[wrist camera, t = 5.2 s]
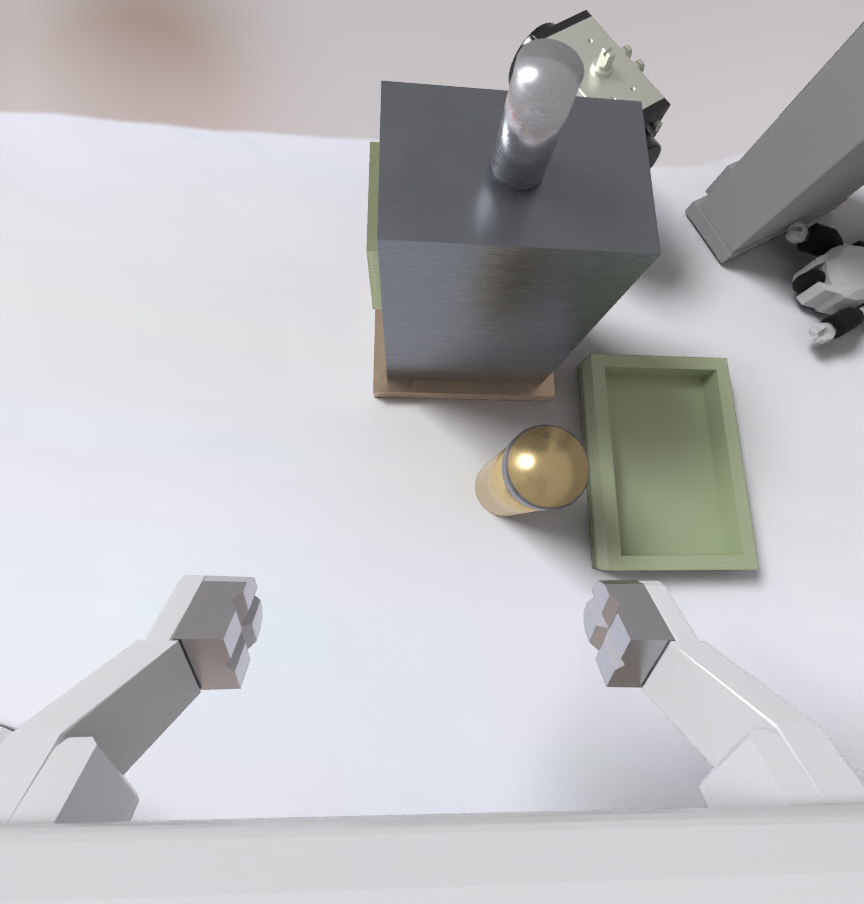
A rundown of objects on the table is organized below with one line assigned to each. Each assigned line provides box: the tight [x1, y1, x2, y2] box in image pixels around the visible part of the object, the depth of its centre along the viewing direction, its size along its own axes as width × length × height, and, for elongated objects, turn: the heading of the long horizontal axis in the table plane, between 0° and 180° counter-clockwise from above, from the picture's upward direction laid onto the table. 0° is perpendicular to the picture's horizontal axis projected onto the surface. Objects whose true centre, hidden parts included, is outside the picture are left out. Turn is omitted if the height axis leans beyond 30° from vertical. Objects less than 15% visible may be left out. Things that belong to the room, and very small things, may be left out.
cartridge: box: [475, 425, 590, 517], centre depth 28 cm, size 5×5×10 cm
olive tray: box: [577, 354, 759, 571], centre depth 33 cm, size 16×11×2 cm
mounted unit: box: [367, 38, 660, 401], centre depth 25 cm, size 10×14×21 cm
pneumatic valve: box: [509, 10, 670, 169], centre depth 32 cm, size 6×12×12 cm, turn 35°
